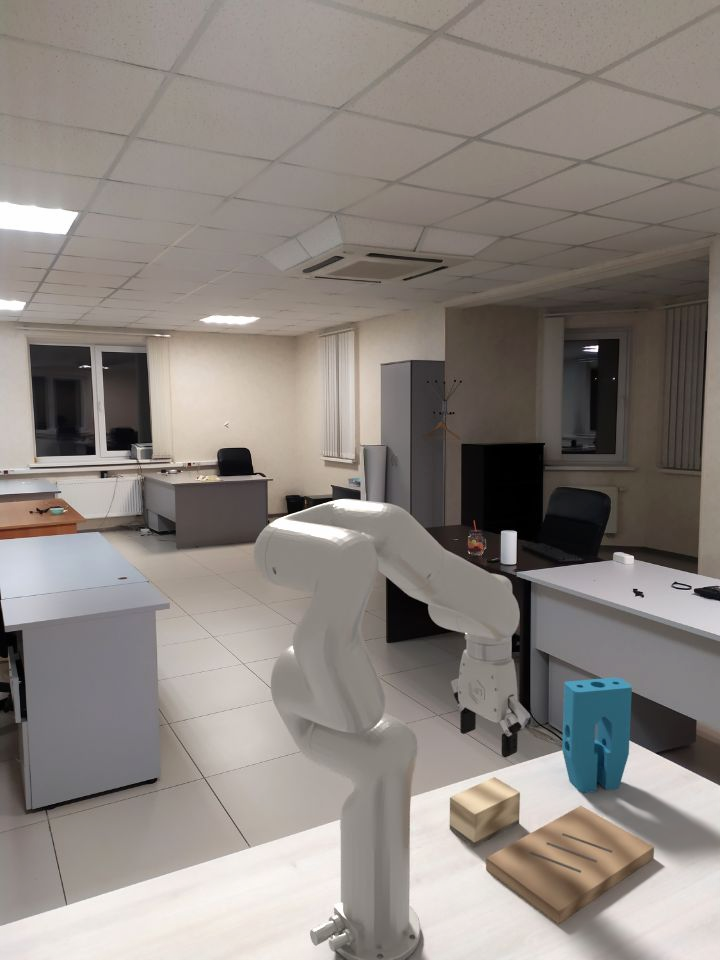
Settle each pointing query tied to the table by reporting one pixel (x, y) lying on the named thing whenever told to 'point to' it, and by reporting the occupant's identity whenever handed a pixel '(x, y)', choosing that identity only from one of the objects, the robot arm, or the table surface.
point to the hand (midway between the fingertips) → (488, 742)
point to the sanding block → (484, 811)
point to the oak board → (569, 862)
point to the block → (611, 749)
